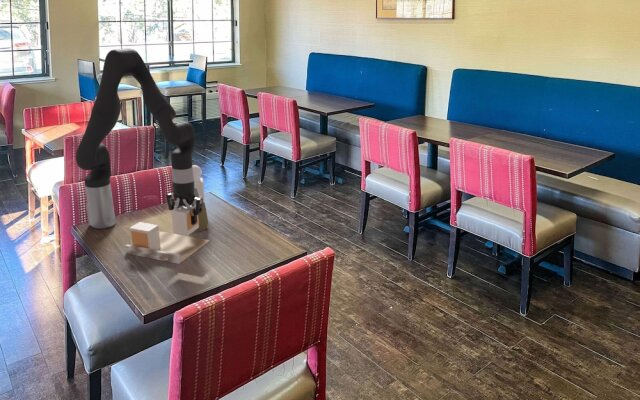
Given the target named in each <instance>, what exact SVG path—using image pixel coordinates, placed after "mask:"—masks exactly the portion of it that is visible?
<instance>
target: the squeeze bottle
mask: <svg viewBox="0 0 640 400" xmlns="http://www.w3.org/2000/svg"><path fill="white" fill-rule="evenodd" d="M194 195H195V197H196V198H202V196H199V194H198V191H197V188H195V191H194ZM194 203H195V201H194ZM195 205H196V204H195ZM198 221H199V228H198V229H196V230H195V231H193V233H194V232H203V231H206V230H207V228H208V225H209V220H208V213H207V208H206V203H205V201H204V202H203V203H202V212H201V213H200V214H198Z"/></svg>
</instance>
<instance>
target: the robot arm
mask: <svg viewBox="0 0 640 400" xmlns="http://www.w3.org/2000/svg"><path fill="white" fill-rule="evenodd" d="M101 74H102V75H101V79H100V83H99V86H98V91H97V94H96V96H95V97H96V98H95V100H94V103H93V105H92V109H91V112H90V117H89V120H88V123H87V126H86V129H85V131H84V133H83V136H82V138H81V141H80V143H79V145H78V146H77V149H76V152H75V162H76V165H77V166H78V168H79V169H80V170H83V171H90V172H89V173H88V174H87V175H86V176H85V177H84V178H83V179H84V181H83V182H84V187H85V194H86V199H87V202H86V203H85V208H86V213H87V220H88V225H89V226H90V227H92V228H93V229H99V230H100V229H101V230H102V229H108V228H111V227H113V226H114V225H115V224H117V223H116V215H115V208H114V200H113V193H112V186H111V178H112V177H111V176H112V171H111V157H110V152H109V150H108V148H107V146H106V145H105V144H104V143H103V141H104V139H105V138H107V137H108V135H109V134H110V133H111V132H112V131H113V130H114V128H115V127H116V125H117V123H118V121H119V117H120V115H121V111H122V103H121V100H120V97H119V93H118V89H119V86H120V84H121V81H122V79H123V78H124V77H131V76H132V77H133V78H134V79H135V80H136V81H137V83H138V84H139V86H140V87H141V91H142V97H143V98H142V99H143V102H144V105H145V107H146V108H147V110H148V111H149V113H150V114H151V115H152V116H153V118H154V120H156V122H157V123H158V126H159V129H160V131H161V134H162V136H163V139H164V140H165V141H166V142H167V143H168V144H169V145H171V146H176V148H175V149H174V150H173V151H172V152H171V154H170V161H171V182H172V185H171V186H172V192H170V193H168V194H166V195H165V196H166V202H167V205H168V206H167V207H168V210H169V211H172V210H173V209H175V208H178V207H180V206H184V207H187V209H188V210H189V211H190V213H191V224H192V225H195V224H196V223H197V215H198V214H200V213H201V212H202V203H203V199H202V198H196V197H195V195H194V191H195V187H194V172H193V167H192V165H193V156H192V155H193V150H194V146H195V142H196V131H195V128H194V126H193V125H192V124H191V123H190V121H189V122H188V121H182V122H181V121H180V122H178V123H175V122H174V121H173V120H174V119H175V118H176V116H177V114H176V113H177V112H176V110H175V108H174V107H173V106H172V105H171V103H170V101H169V100H167V98H166V97H165V96H164V94H163V93H162V91H161V90H160V88H159V86H158V85H157V83H156V81H155V80H154V77H153V76H152V74H151V72H150V70H149V69H148V67H147V64H146V63H145V61H144V59H143V58H142V56H141V55H140V53H139V52H138V51H137V50H135V49H134V48H128V47H127V48H114V49H112V50H109V51H108V53H106V56H105V58H104V62H103V67H102V73H101ZM194 201H195V203H194ZM195 204H196V205H195ZM190 206H191V207H190ZM193 211H194V212H193Z"/></svg>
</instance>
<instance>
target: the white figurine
mask: <svg viewBox="0 0 640 400" xmlns="http://www.w3.org/2000/svg"><path fill="white" fill-rule="evenodd" d="M192 167H193V172H194V187H195V188H197V191H198V194H199V196H202V199H203V202H204V203H205V187H204V185H205V184H204V183H205V182H204V177H202V174H203V171H202V169H201V167H200V166H198V165H197V164H192Z"/></svg>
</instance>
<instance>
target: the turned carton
mask: <svg viewBox="0 0 640 400" xmlns="http://www.w3.org/2000/svg"><path fill="white" fill-rule="evenodd" d="M190 207H191V206H190ZM193 212H194V211H193ZM171 220H172V233H173V234H178V235H183V236H189V235H190V234H192V233H194V231H195V230H196V229H198V228H199V221H198V215H197V223H196V224H195V225H192V224H191V213H190V211H189V210H188V209H187V207H184V206H180V207H178V208H175V209H173V210H171Z"/></svg>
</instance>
